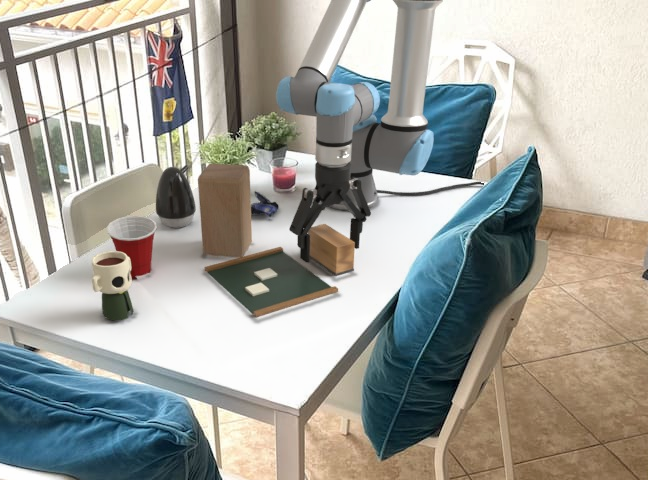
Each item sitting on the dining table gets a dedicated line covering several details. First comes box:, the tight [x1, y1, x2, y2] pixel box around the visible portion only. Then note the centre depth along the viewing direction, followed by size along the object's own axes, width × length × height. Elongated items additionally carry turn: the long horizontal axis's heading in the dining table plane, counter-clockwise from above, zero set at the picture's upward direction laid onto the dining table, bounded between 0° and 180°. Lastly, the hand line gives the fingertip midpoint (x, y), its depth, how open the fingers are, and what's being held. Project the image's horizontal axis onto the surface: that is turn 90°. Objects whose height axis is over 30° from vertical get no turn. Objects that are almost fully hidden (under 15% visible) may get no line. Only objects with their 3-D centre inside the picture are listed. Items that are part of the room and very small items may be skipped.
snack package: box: [251, 190, 280, 220], centre depth 186 cm, size 12×6×12 cm
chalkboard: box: [204, 246, 339, 318], centre depth 153 cm, size 20×24×2 cm
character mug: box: [91, 250, 135, 322], centre depth 140 cm, size 11×7×13 cm, turn 150°
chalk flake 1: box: [254, 268, 277, 281], centre depth 155 cm, size 4×4×1 cm
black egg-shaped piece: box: [155, 164, 197, 229], centre depth 178 cm, size 10×10×15 cm
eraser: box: [307, 223, 356, 277], centre depth 158 cm, size 5×12×8 cm, turn 30°
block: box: [197, 162, 253, 258], centre depth 163 cm, size 10×10×20 cm
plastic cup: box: [106, 215, 158, 280], centre depth 155 cm, size 11×11×12 cm
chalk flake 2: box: [245, 283, 269, 296], centre depth 149 cm, size 4×4×1 cm
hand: (329, 253), depth 159 cm, fingers open, 13 cm apart
